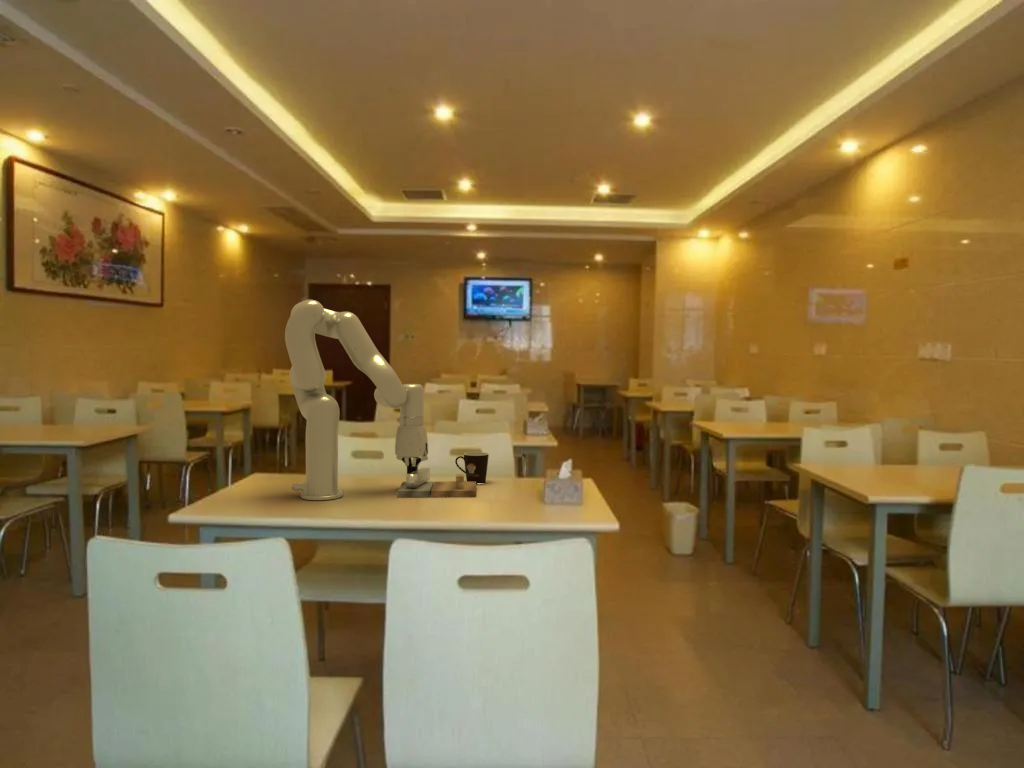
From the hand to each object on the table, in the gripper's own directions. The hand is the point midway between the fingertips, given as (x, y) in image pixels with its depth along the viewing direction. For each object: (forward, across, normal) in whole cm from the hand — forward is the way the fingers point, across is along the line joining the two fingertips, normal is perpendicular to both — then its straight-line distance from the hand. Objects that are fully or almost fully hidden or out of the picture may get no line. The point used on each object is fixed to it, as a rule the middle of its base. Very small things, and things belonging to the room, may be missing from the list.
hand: (412, 477), depth 224 cm
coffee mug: (+4, +15, +17) cm, 23 cm away
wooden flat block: (+4, +10, -3) cm, 11 cm away
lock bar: (+1, +4, -3) cm, 5 cm away
